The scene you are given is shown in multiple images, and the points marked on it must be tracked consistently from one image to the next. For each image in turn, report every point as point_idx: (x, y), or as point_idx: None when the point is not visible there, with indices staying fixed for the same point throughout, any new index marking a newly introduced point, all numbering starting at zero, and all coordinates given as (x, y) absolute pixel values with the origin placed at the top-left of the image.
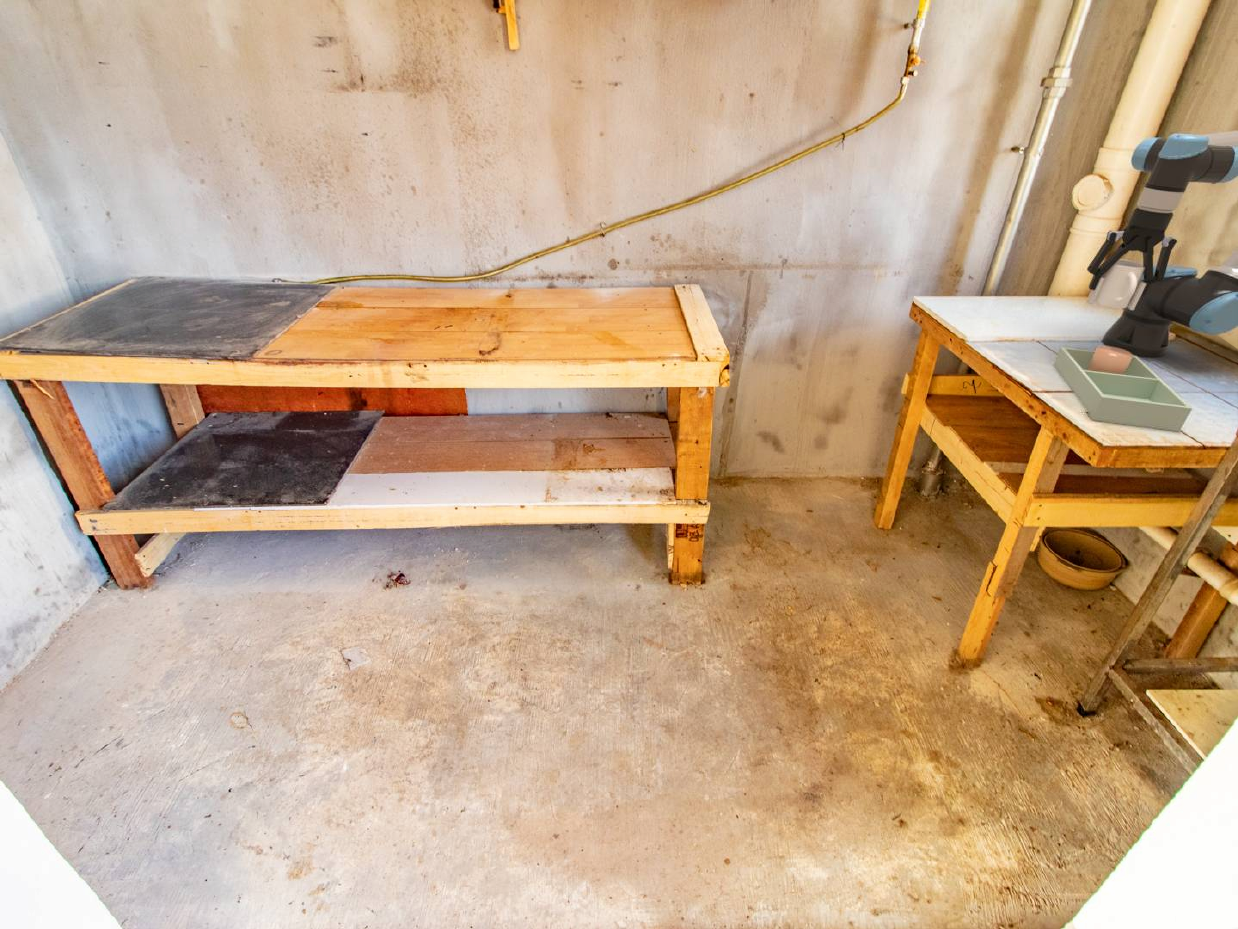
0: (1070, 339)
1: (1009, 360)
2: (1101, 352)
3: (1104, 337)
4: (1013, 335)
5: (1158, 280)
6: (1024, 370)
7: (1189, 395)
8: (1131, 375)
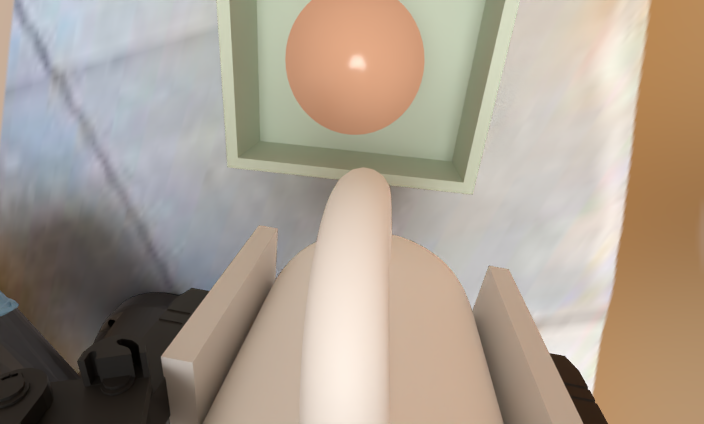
0: None
1: (572, 200)
2: (420, 39)
3: None
4: None
5: (33, 384)
6: (569, 125)
7: (111, 37)
8: (255, 108)
